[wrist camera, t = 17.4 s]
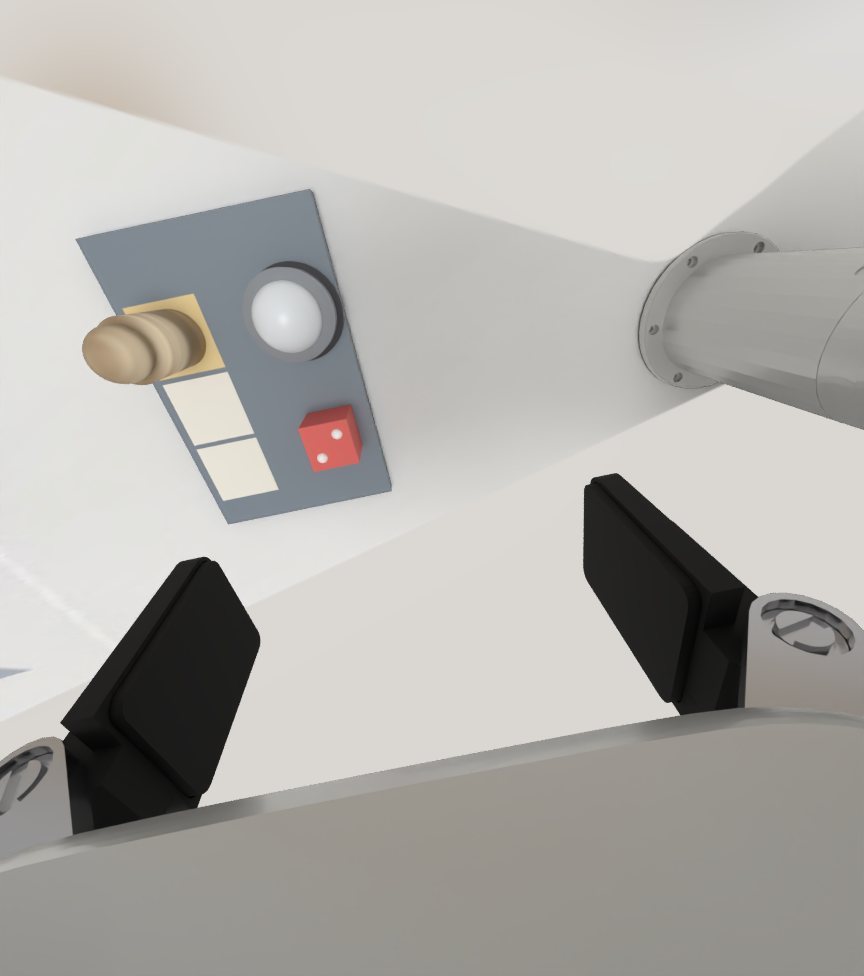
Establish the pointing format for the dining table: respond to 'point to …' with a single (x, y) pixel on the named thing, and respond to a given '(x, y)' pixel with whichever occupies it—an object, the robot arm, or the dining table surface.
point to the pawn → (144, 346)
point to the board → (249, 357)
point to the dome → (289, 314)
